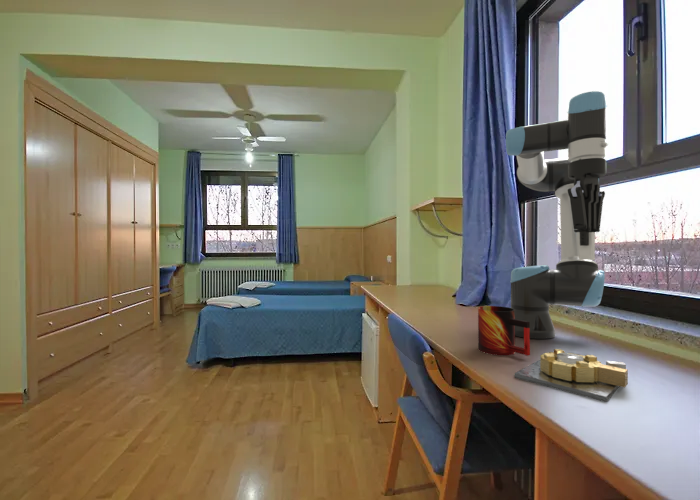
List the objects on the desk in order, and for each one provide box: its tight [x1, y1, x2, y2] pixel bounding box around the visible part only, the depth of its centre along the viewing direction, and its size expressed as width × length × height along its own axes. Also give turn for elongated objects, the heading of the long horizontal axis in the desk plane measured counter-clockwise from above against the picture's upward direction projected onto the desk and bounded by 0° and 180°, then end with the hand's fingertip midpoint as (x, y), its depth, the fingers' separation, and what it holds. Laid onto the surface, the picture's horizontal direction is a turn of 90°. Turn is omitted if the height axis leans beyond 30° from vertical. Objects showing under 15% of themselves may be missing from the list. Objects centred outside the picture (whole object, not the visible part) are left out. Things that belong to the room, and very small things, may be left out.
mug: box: [477, 305, 531, 357], centre depth 99 cm, size 10×14×12 cm
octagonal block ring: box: [539, 348, 629, 388], centre depth 76 cm, size 16×11×4 cm
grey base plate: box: [514, 352, 627, 403], centre depth 77 cm, size 17×18×5 cm
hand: (587, 259), depth 83 cm, fingers closed
